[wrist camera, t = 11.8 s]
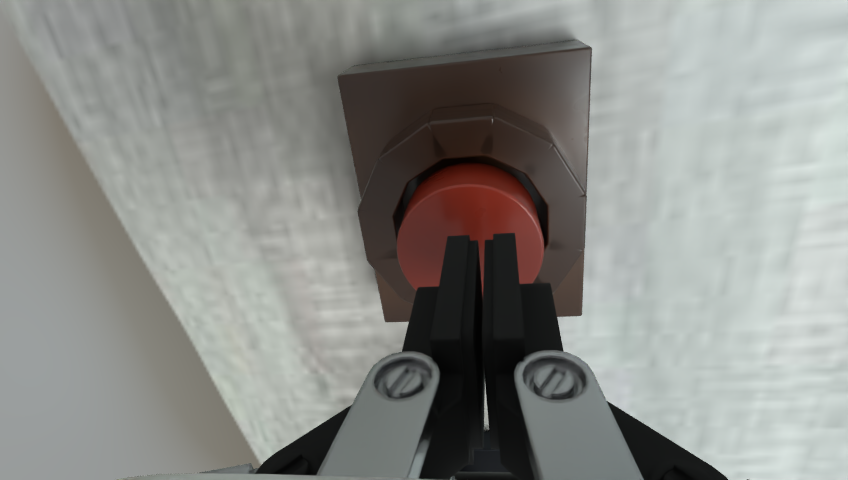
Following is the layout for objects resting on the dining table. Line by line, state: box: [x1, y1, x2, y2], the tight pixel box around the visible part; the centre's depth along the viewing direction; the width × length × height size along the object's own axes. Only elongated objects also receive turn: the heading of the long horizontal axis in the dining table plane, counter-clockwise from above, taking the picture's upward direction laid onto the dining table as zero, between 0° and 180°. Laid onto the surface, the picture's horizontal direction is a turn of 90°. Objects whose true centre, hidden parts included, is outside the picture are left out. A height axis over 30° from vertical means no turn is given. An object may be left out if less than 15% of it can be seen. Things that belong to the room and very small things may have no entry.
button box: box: [337, 40, 592, 322], centre depth 17 cm, size 10×8×4 cm
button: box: [397, 163, 544, 294], centre depth 15 cm, size 4×4×2 cm
